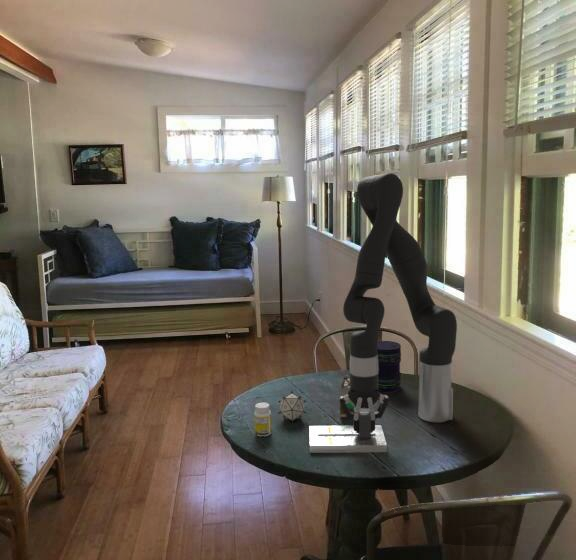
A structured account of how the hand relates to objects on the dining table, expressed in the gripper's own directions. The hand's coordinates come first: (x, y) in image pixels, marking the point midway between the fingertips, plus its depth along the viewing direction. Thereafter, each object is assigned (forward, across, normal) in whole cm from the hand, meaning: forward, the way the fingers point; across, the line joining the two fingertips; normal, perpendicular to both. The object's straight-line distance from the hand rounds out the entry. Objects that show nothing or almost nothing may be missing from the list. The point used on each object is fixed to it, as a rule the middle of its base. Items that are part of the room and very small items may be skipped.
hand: (364, 431), depth 156 cm
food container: (+3, +2, -19) cm, 19 cm away
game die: (+3, +20, -15) cm, 25 cm away
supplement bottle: (+3, +28, -6) cm, 29 cm away
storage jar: (+3, -11, -40) cm, 42 cm away
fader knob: (+1, 0, 0) cm, 1 cm away
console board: (+3, +5, 0) cm, 6 cm away
